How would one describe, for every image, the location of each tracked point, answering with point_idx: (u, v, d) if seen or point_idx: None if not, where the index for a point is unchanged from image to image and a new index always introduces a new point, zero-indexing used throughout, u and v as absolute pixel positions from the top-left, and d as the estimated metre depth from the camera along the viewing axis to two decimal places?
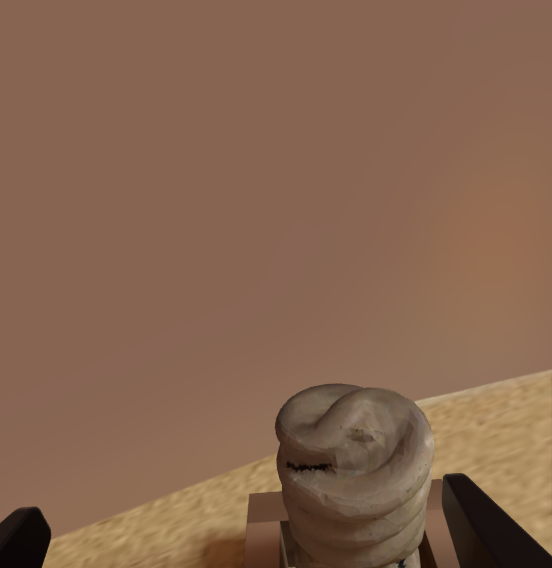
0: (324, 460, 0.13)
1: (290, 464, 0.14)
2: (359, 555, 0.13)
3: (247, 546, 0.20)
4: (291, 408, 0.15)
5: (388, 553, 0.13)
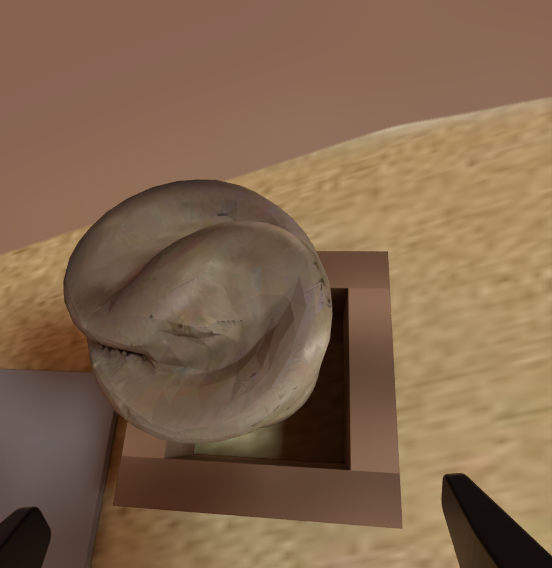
0: (134, 352, 0.07)
1: None
2: None
3: None
4: (94, 243, 0.08)
5: None
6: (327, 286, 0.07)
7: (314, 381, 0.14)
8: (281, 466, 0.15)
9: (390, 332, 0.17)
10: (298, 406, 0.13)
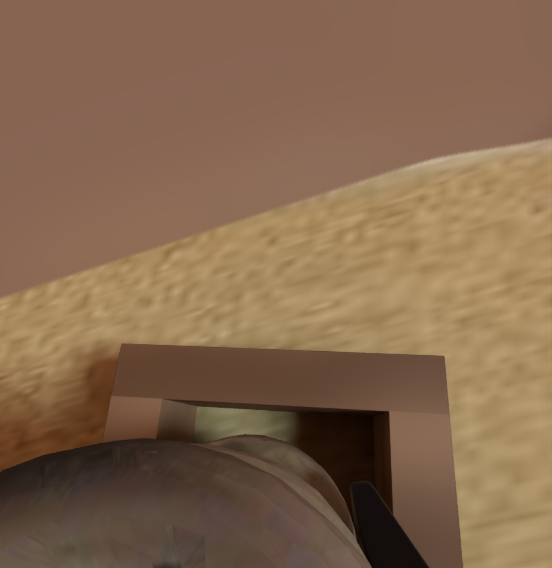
0: None
1: None
2: None
3: (107, 436, 0.13)
4: None
5: None
6: None
7: None
8: None
9: (453, 486, 0.11)
10: None
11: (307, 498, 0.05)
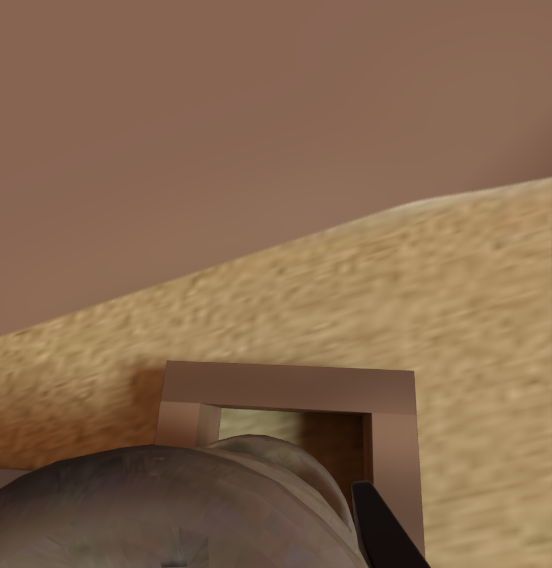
0: None
1: None
2: None
3: (159, 431, 0.17)
4: None
5: None
6: None
7: None
8: None
9: (418, 468, 0.16)
10: None
11: (306, 499, 0.05)
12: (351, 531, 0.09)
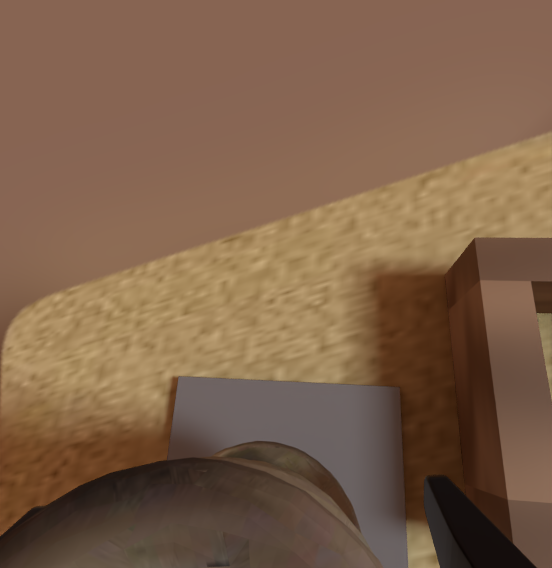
0: None
1: None
2: None
3: (488, 312, 0.15)
4: None
5: None
6: None
7: None
8: None
9: None
10: None
11: (324, 505, 0.06)
12: None
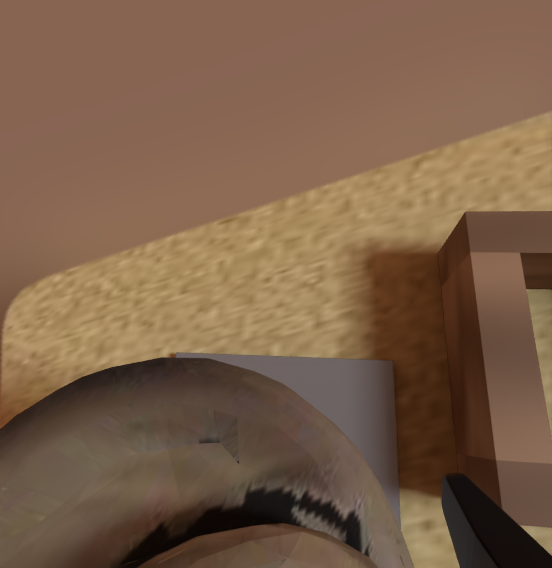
0: None
1: None
2: None
3: (478, 282, 0.15)
4: None
5: None
6: None
7: None
8: None
9: None
10: None
11: None
12: None
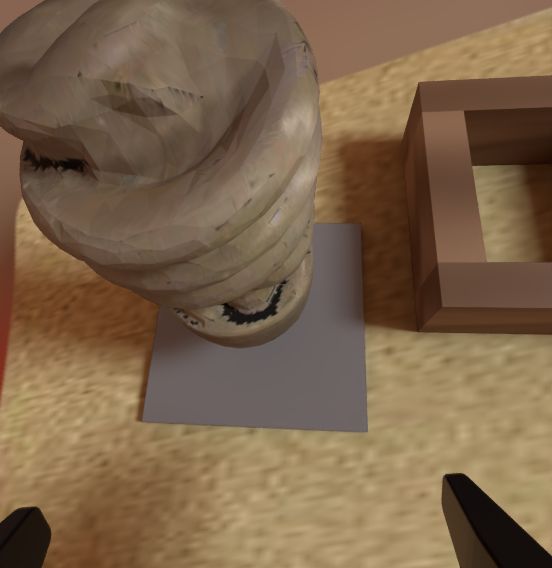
0: (68, 152, 0.06)
1: (28, 154, 0.07)
2: (176, 294, 0.08)
3: (427, 134, 0.18)
4: (20, 28, 0.06)
5: (222, 295, 0.08)
6: (313, 56, 0.06)
7: (306, 285, 0.12)
8: None
9: None
10: (288, 312, 0.12)
11: None
12: None
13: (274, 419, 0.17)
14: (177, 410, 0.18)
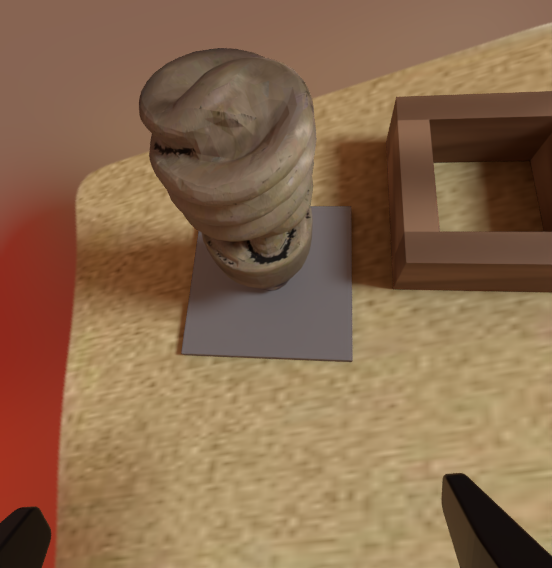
0: (186, 144, 0.11)
1: (157, 146, 0.12)
2: (230, 230, 0.14)
3: (401, 137, 0.23)
4: (158, 80, 0.12)
5: (257, 231, 0.14)
6: (311, 98, 0.11)
7: (307, 239, 0.18)
8: (536, 232, 0.20)
9: None
10: (294, 256, 0.17)
11: None
12: None
13: (282, 351, 0.23)
14: (208, 344, 0.24)
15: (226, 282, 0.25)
